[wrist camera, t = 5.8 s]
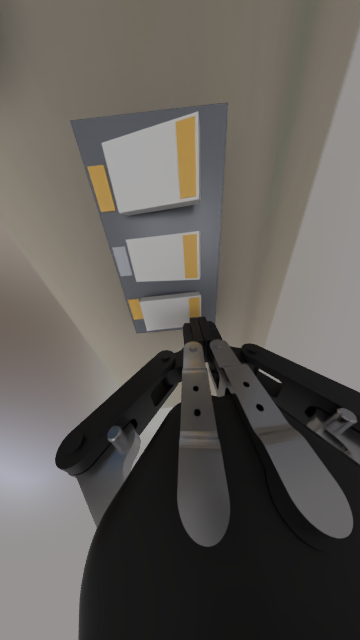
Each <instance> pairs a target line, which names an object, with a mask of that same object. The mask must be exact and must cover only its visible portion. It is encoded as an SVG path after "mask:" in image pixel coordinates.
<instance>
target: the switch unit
mask: <svg viewBox="0 0 360 640" xmlns="http://www.w3.org/2000/svg"><path fill="white" fill-rule="evenodd" d="M227 110H228V103H219V104H211V105H202V106H193V107H184V108H176V109H167V110H158V111H149V112H141V113H132V114H123V115H115V116H106V117H97V118H88V119H80V120H71V121H70V122H71V125H72V128H73V131H74V134H75V138H76V141H77V144H78V147H79V150H80V154H81V157H82V160H83V163H84V166H85V170H86V173H87V176H88V179H89V182H90V186H91V189H92V192H93V195H94V198H95V202H96V205H97V208H98V211H99V214H100V218H101V221H102V224H103V227H104V230H105V234H106V237H107V240H108V243H109V246H110V250H111V253H112V256H113V259H114V262H115V266H116V269H117V272H118V275H119V278H120V282H121V285H122V288H123V291H124V294H125V298H126V301H127V304H128V307H129V310H130V314H131V317H132V320H133V323H134V326H135V330H136V333H146V332H157V331H169V330H180V329H183V327H179V328H170V329H161V330H152V331H147V329H146V326H145V322H144V318H143V314H142V310H141V306H140V300H141V298H143V297H152V296H162V295H171V294H180V293H190V292H199V293H200V294H201V317H203V316H205V317H206V320H207V321H212V322H213V323H214V324H215V314H216V297H217V280H218V263H219V246H220V229H221V212H222V195H223V178H224V161H225V144H226V127H227ZM194 112H198V114H199V123H200V204H196V205H190V206H184V207H178V208H172V209H166V210H160V211H154V212H148V213H142V214H136V215H130V216H127V215H123V214H120V213H119V211H118V207H117V203H116V199H115V195H114V191H113V187H112V183H111V179H110V175H109V171H108V167H107V163H106V159H105V155H104V151H103V147H102V143H103V142H106V141H109V140H112V139H115V138H118V137H121V136H124V135H127V134H130V133H133V132H136V131H139V130H142V129H145V128H149V127H152V126H155V125H158V124H161V123H164V122H167V121H170V120H173V119H176V118H179V117H182V116H185V115H188V114H191V113H194ZM194 231H200V232H201V277H200V280H174V281H146V282H136V279H135V275H134V271H133V267H132V263H131V259H130V255H129V251H128V247H127V243H126V240H128V239H136V238H144V237H153V236H161V235H169V234H178V233H186V232H194Z"/></svg>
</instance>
